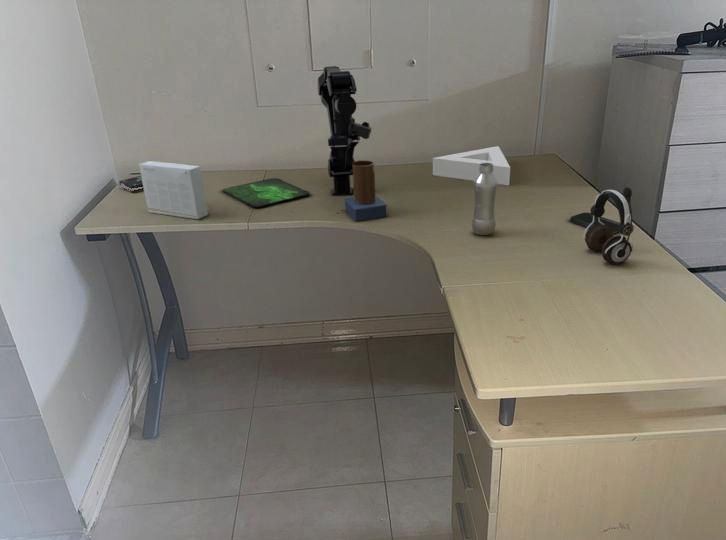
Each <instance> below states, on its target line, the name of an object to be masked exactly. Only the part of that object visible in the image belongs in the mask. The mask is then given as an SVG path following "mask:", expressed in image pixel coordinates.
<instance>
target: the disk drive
mask: <svg viewBox="0 0 726 540" xmlns="http://www.w3.org/2000/svg"><path fill="white" fill-rule="evenodd" d="M118 182H119V185H120V184H123V185H125V186H127V187H129V188H131V189H132V188H138V187H143V182H142V177H141V175H139V176H135V177H131V178H126V179H121V180H119V181H118ZM128 190H129V189H128ZM130 191H131V190H130ZM130 191H129V192H130ZM139 192H144V188H142V189H138V190H134V191H131V192H130V193H139Z"/></svg>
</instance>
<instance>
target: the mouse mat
mask: <svg viewBox="0 0 726 540" xmlns="http://www.w3.org/2000/svg"><path fill="white" fill-rule="evenodd" d="M221 191H222V192H223V193H225V194H226V195H228V196H230V197H233V198H235V199H236V200H238V201H240V202H242V203H244V204H247V205H249V206H250V207H252V208H262V207H265V206H269V205H273V204H277V203H282V202H285V201H289V200H293V199H299V198H301V197H306V196H308V195H310V194H311V192H310V191H308V190H306V189H302V188H300V187H297V186H295V185H293V184H291V183H288V182H286V181H284V180H282V179H280V178H276V177H275V178H274V177H271V178H266V179H263V180H259V181H257V180H256V181H254V182H249V183H245V184H244V183H243V184H240V185H235V186H230V187H227V188H223V189H222V190H221Z"/></svg>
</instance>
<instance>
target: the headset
mask: <svg viewBox="0 0 726 540" xmlns="http://www.w3.org/2000/svg"><path fill="white" fill-rule="evenodd" d="M632 196H633V191H632V188H630V187H629V186H627V187H624V189H623V191H622V192H620V191H617V190H615V189H605V190H603V191H601V192H600V194H598V195H596V196H595V202H594V204H593V205H592V206H591V207H590V213H591V214H592V215H593V222H592V223H591V224H590V225H589V226H588V227H585V230H584V232H583V238H584V242H585V244H586V245H587V248H588V249H589V250H590V251H592V252H601V254H602V258H603V260H604V261H605V262H606V263H608V264H613V265H619V264H622V263H625V261H627V260H628V258H630V256H631V253H632V252H633V249H634V247H635V246H634V243H633V242H632V241H631V240H630V237H631V234H632V233H634V228H635V227H634V224H633V209H632V205H631V202H632V201H631V197H632ZM609 199H611V200H612V201H613V203H614V204H615V206H616V209H617V212H618V214H619V221H620V222H619V223H620V225H619V227H618V231H619V232H618V233H620V234H621V235H614V234H613V232H612V230H611V228H610V227H609V226H607V225H605V224H603V223H602V222H600V217H603V216H604V215H605V213H606V212H605V211H606V209H605V206H606V204H607V202H608V200H609ZM595 217H598V221H599V223H601V224H596V225H594V226H592V227H591V228H589V227H590V226H591V225H592V224H593V223H594V218H595Z"/></svg>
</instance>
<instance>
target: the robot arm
mask: <svg viewBox="0 0 726 540" xmlns="http://www.w3.org/2000/svg"><path fill="white" fill-rule="evenodd" d="M357 89H358V87H357V85H356V80H355V78H354V76H353V74H351V71H349V70H341V69H340V66H337V65H334V66H333V65H331V66H325V67H323V69H322V73H321V74H320V76H318V78H317V94H318V96H319V97H320V101H321V104H322V105H323V106H324V107H325V108H326V112H327V117H328V125H329V131H330V132H329V133H330V137H329V138H328V139H327V146H328V147H329V149H330V153H329V158H328V160H327V161H328V162H327V173H328V176H329V178H332V179H333V189H332V195H333V196H342V195H343V196H344V195H352V194H353V188H352V187H351V176H353V166H352V164H353V163H354V162H356V161H357V160H355V158H354V152H355V149H356V146H357V145H358V144H359V143H360V141H361V138H362V139H363V140H369V139H370V136H371V133H372V129H373V128H372V127H371V126H370V122H367V121H363V122H362V123H358V122H356V119H355V118H354V117H353V114H355V113H356V110H357V102H356V100H355V99H354V97H352V95H356V94H357V93H356V92H357Z"/></svg>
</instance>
